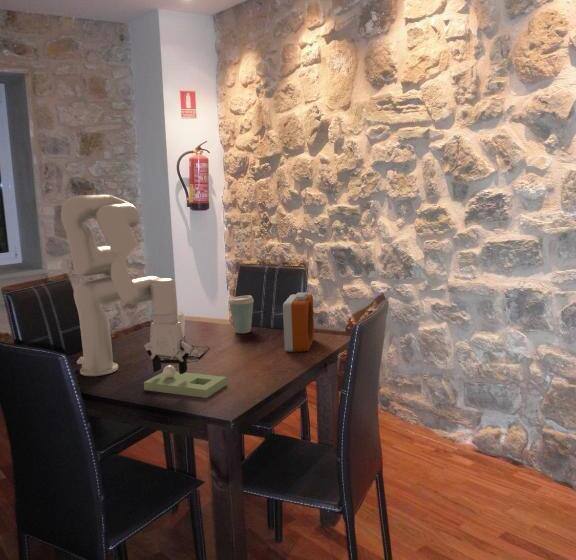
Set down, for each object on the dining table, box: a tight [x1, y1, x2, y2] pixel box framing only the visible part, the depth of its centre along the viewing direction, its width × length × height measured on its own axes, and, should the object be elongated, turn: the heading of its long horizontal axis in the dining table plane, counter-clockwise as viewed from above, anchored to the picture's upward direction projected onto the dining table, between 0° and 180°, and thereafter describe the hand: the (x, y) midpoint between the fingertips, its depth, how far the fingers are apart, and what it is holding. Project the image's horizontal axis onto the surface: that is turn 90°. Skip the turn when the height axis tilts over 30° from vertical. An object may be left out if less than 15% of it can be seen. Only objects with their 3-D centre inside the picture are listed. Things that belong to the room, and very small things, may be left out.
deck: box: [143, 370, 228, 399], centre depth 182 cm, size 22×12×2 cm, turn 66°
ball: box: [162, 364, 177, 378], centre depth 183 cm, size 4×4×4 cm
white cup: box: [177, 311, 186, 338], centre depth 243 cm, size 8×8×10 cm
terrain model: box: [158, 345, 210, 364], centre depth 218 cm, size 20×15×3 cm
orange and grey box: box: [282, 292, 315, 353], centre depth 221 cm, size 18×9×21 cm, turn 170°
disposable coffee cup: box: [228, 295, 255, 334], centre depth 247 cm, size 11×11×15 cm
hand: (170, 371), depth 183 cm, fingers open, 9 cm apart
